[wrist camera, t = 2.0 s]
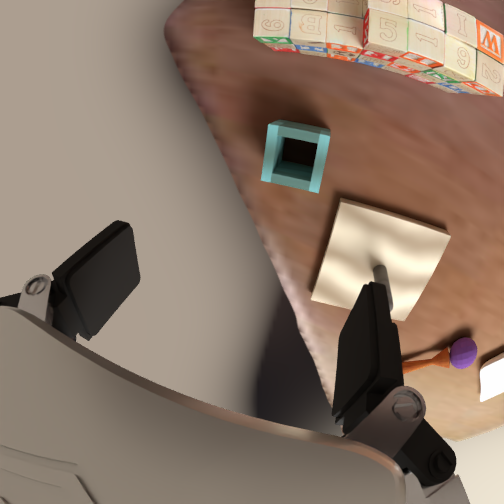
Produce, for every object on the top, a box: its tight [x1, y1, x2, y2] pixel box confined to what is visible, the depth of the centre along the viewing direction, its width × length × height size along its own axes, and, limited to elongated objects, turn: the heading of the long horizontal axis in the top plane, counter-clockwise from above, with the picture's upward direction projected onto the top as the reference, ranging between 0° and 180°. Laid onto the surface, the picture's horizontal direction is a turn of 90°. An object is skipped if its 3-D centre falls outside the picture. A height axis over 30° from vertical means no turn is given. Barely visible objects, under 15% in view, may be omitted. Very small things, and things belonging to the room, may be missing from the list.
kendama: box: [402, 337, 477, 374], centre depth 40 cm, size 6×6×20 cm
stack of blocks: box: [253, 0, 504, 97], centre depth 16 cm, size 21×6×12 cm, turn 86°
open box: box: [261, 119, 330, 193], centre depth 28 cm, size 6×6×6 cm
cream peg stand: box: [311, 198, 451, 321], centre depth 31 cm, size 16×16×10 cm
